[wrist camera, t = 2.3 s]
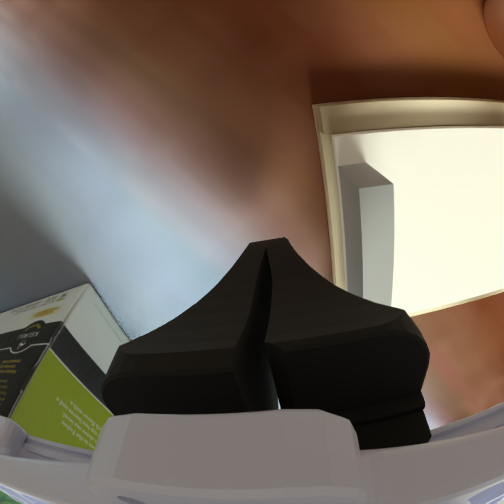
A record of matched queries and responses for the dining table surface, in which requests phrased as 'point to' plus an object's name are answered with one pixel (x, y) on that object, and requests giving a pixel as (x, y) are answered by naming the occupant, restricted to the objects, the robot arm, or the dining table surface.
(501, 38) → the peg
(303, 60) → the dining table surface
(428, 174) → the lid
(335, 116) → the plate
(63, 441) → the tea box
